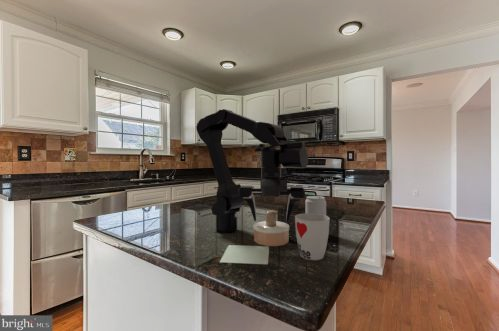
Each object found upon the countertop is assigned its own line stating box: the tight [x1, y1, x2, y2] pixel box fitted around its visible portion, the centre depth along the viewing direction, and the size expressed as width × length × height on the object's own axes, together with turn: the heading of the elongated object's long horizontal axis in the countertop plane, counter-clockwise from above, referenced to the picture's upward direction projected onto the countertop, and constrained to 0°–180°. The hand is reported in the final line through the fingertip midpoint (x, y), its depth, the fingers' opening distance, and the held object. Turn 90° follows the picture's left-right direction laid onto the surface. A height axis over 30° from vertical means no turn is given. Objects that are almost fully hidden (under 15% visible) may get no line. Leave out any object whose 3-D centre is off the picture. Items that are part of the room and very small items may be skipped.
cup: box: [294, 212, 331, 261], centre depth 58 cm, size 8×8×10 cm
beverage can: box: [304, 195, 327, 216], centre depth 77 cm, size 6×6×12 cm
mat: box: [219, 244, 270, 265], centre depth 60 cm, size 11×11×1 cm
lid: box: [252, 210, 290, 234], centre depth 70 cm, size 10×10×5 cm
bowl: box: [253, 229, 290, 247], centre depth 70 cm, size 10×10×4 cm
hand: (271, 221), depth 70 cm, fingers open, 9 cm apart
